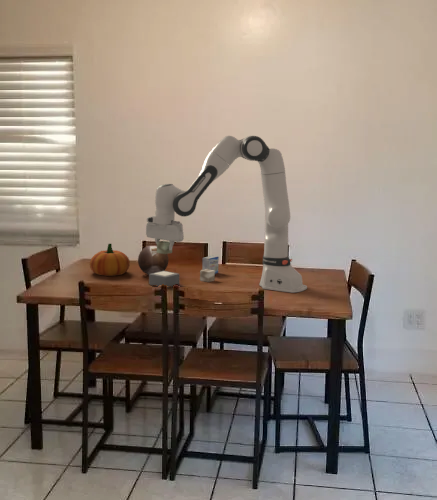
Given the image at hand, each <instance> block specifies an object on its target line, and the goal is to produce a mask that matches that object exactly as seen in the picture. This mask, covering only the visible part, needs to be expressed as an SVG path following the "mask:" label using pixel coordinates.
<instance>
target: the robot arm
mask: <svg viewBox="0 0 437 500" xmlns="http://www.w3.org/2000/svg"><path fill="white" fill-rule="evenodd" d="M238 158H243V159H244V160H247V161H252V162H253V161H254V162H257V163H258V165H259V168H260V176H261V178H260V179H261V185H262V186H261V187H262V195H263V201H264V203H263V204H264V241H263V242H264V244H263V245H264V246H263V247H264V248H263V250H264V251H263V255H262V272H261V278H260V280H259V281H260V282H259V286H260V287H261V288H262V290H271V291H277V292H283V293H292V294H293V293H301V292H304V291H306V290H307V289H308V285H305V284H303V276H302V274H301V273H299V271H298V270H296V269H295V268H294V266H292V264H291V262H292V261H293V258H289V256H288V255H289V252H288V251H289V223H290V221H291V209H290V201H289V195H288V187H287V177H286V168H285V162H284V159H283V156H282V152H281V151H280V150H279V149H277V148H269V146H268V145H267V144H266V142H265V141H264V140H263V139H262V138H261V137H260V136H257V135H248V136H246V137H245V138H242V139H238V138H236V137H235V136H232V135H226V136H224V137H222V139H221V140H220V141H218V142H217V143H216V144H215V146H214V147H212V149H211V150H210V151H209V152H208V153H207V155H206V157H205V159H204V161H203V163H202V167H201V169H200V172H199V174H198V176H197V177H196V179H195V180H194V181H193V182H192V183H191V185H190V186H189V187H188V189H187V190H182V189H181V188H179V187H177V186H175V185H174V184H173V183H165V184H160V185H159V186H157V188H156V192H155V200H154V202H155V203H154V204H155V211H154V213H155V214H154V215H152V216H150V217H149V216H148V217H146V222H147V223H146V225H145V226H146V227H145V235H146V237H147V238H149V239H154V241H155V245H157V242H160V241H169V243H170V245H169V246H167V248H168V249H167V250H172V251H173V246H174V245H175V242H176V243H181V242H183V241H184V229H183V228H184V227H183V224H182V222H181V221H177V220H175V214H176V215H178V216H180V217H188V216H191V215H192V214H194V212H195V211H196V208H197V203H198V201H199V199H200V198H201V196H203V194H204V193H205V191H207V189H208V188H209V187H210V185H211V184H212V183H213V182H215V180H217V179H218V178H219V177H220V176H222V175H223V174H224V173H226V171H227V170H228V169H229V168H230V167H231V166H232V164H233V163H234V162H235V160H237V159H238Z"/></svg>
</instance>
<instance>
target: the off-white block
mask: <svg viewBox="0 0 437 500" xmlns="http://www.w3.org/2000/svg"><path fill="white" fill-rule="evenodd" d="M199 273H200V274H199V281H200V282H206V283H210V282H214V281H215V275H216V274H215V270H209V269H205V270H202V269H201V270H200V271H199Z"/></svg>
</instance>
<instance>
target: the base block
mask: <svg viewBox="0 0 437 500" xmlns="http://www.w3.org/2000/svg"><path fill="white" fill-rule="evenodd" d="M149 284H150V286H153V285H157V286H156V287H158V286H159V285H162V284H164V285H167V286H171V287H174V286H173V285H175V284H178V285H180V273H178V272H173V271H172V272H171V271H167V270H164V271H160V272H156V273H151V274H149V275H148V285H149ZM175 286H176V285H175Z"/></svg>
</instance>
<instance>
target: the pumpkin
mask: <svg viewBox="0 0 437 500" xmlns="http://www.w3.org/2000/svg"><path fill="white" fill-rule="evenodd" d="M112 247H113V246H112V243H107V249H106V250H100V251H98V252H96V253H95V254H94V255H93V256H92V257H91V259H90V261H89V267H90V270H91V271H92V272H93V273H94V274H97V275H100V276H101V277H102V276H105V277H106V276H107V277H114V276H120V275H123V274H126V272H127V271H128V270H129V269H130V265H131V261H130V258H129V257H128V256H127V254H125V253H124V252H122V251H120V250H116V249H115V250H113V248H112Z"/></svg>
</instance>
